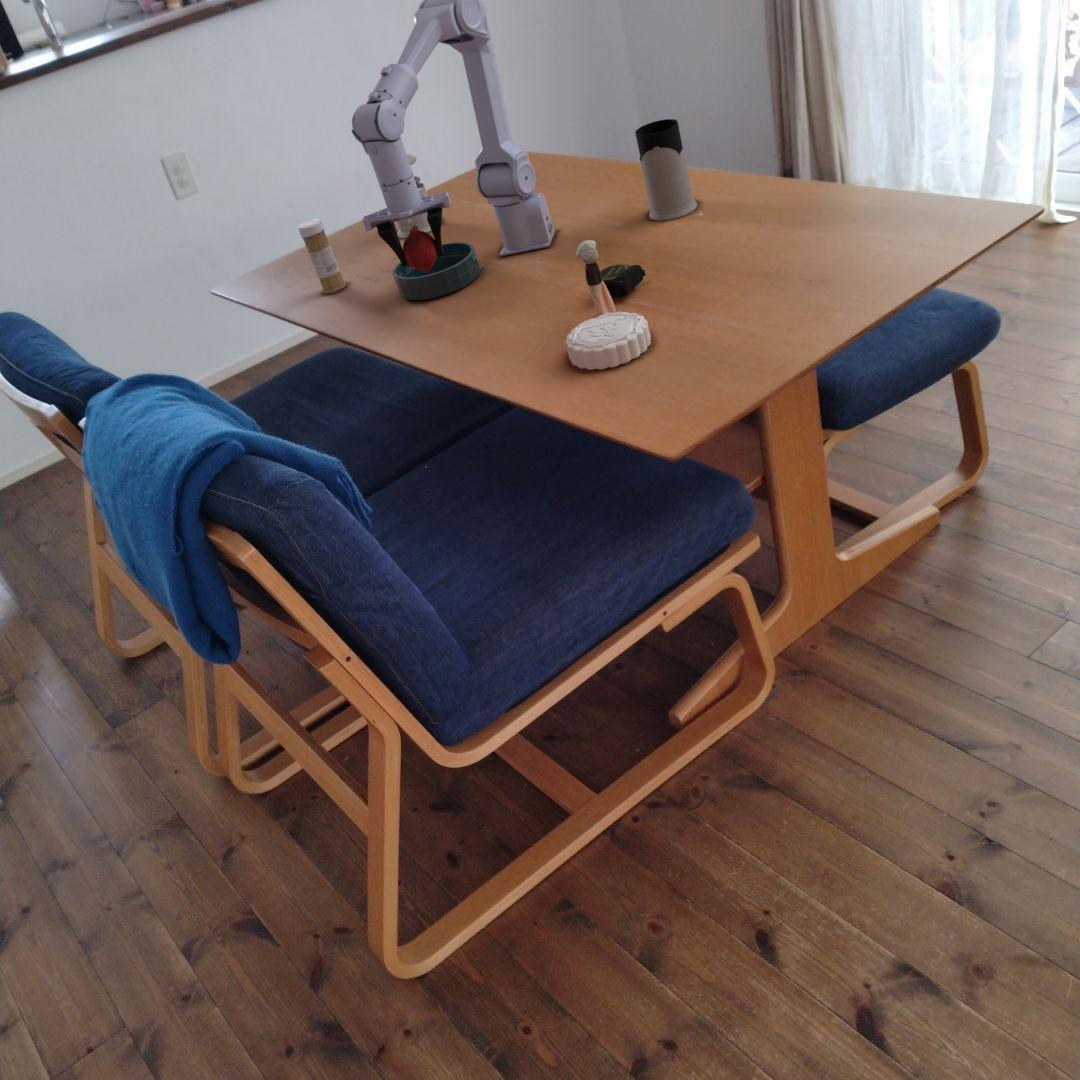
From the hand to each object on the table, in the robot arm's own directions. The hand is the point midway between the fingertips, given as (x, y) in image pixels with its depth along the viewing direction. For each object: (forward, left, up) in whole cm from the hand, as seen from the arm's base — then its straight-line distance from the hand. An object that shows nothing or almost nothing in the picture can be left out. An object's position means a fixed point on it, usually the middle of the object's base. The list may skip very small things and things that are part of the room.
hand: (423, 259), depth 184 cm
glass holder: (-39, -28, -9) cm, 49 cm away
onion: (0, 0, -2) cm, 2 cm away
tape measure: (-33, +8, -9) cm, 35 cm away
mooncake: (-33, +28, -9) cm, 44 cm away
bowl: (+3, -12, -9) cm, 16 cm away
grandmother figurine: (-31, +17, -9) cm, 37 cm away
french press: (+17, -47, -9) cm, 51 cm away
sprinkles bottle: (+27, -20, -9) cm, 35 cm away
